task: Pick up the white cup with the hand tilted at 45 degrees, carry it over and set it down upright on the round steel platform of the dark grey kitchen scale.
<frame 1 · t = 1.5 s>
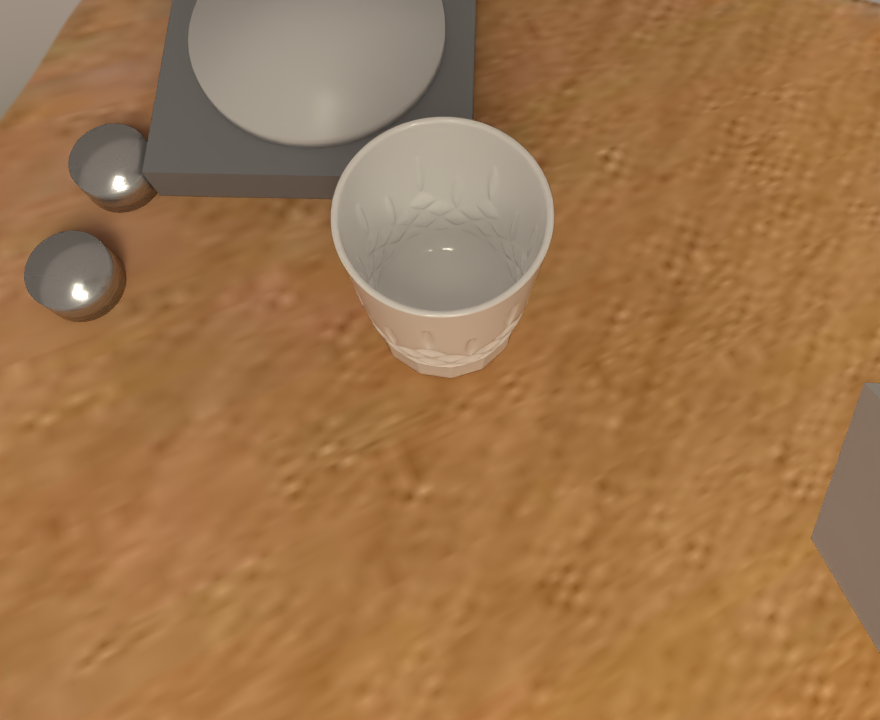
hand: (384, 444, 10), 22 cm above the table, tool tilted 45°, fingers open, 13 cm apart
spacer a: (126, 179, 38), on the table
white cup: (446, 313, 35), on the table
spacer b: (87, 285, 36), on the table
scale: (326, 67, 39), on the table
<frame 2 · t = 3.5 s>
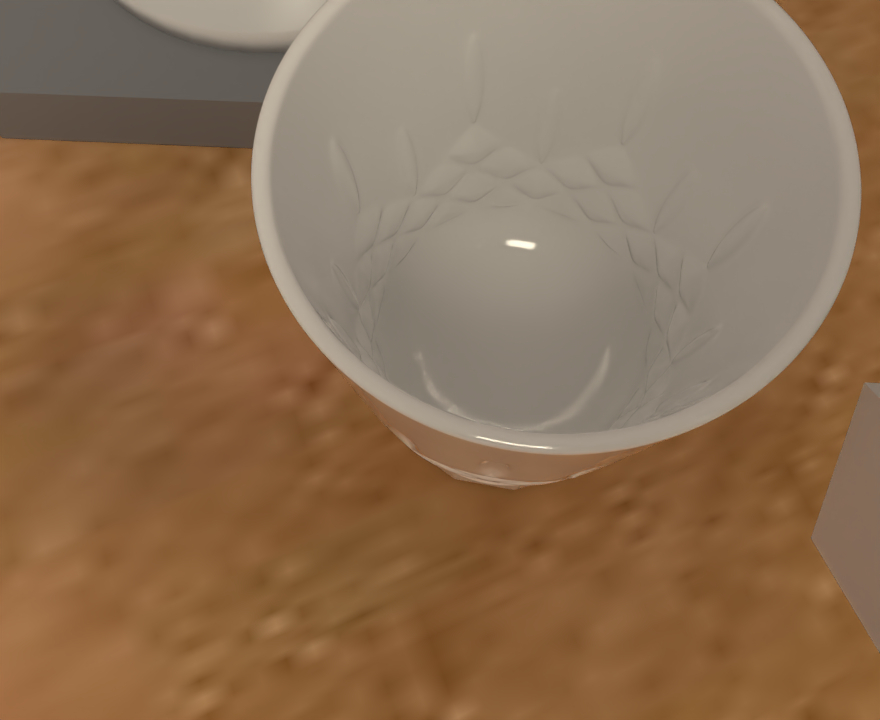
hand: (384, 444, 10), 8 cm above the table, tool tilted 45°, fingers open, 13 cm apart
white cup: (504, 363, 19), on the table
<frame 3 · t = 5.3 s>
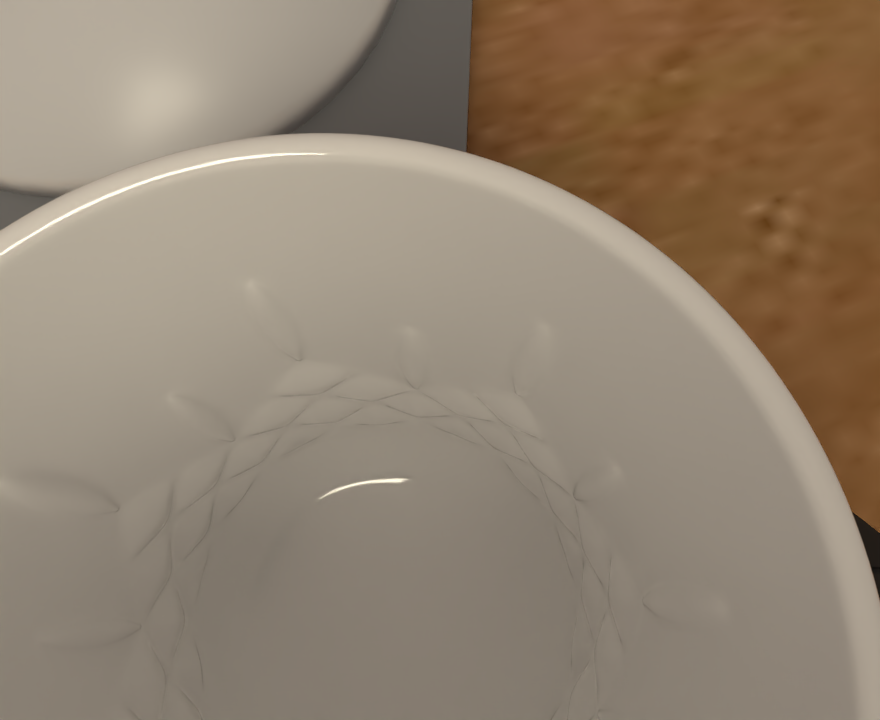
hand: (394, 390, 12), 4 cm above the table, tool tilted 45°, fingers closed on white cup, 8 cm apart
white cup: (398, 603, 14), on the table, touching gripper
scale: (161, 18, 19), on the table
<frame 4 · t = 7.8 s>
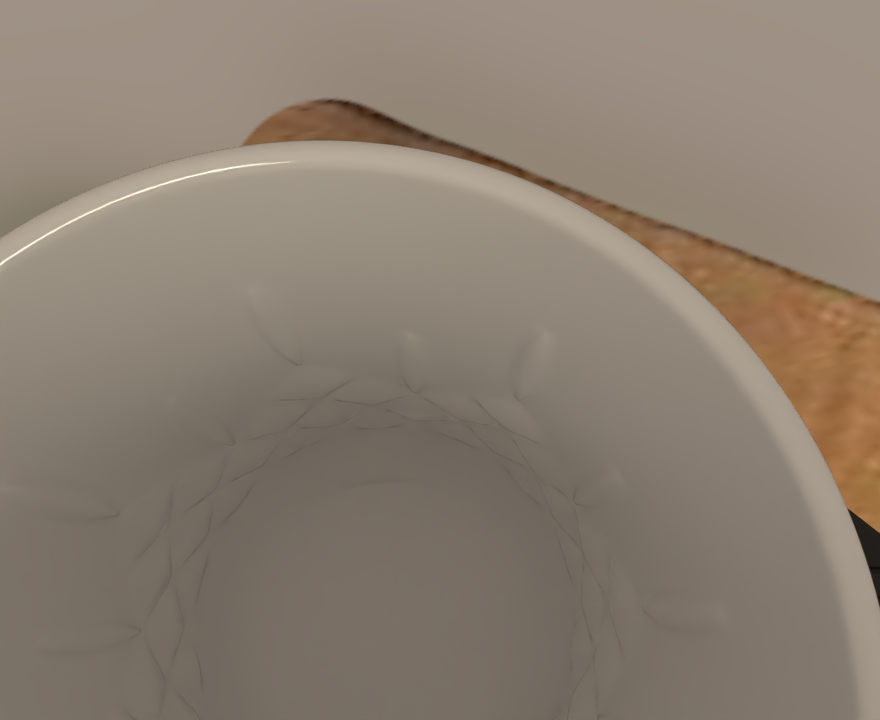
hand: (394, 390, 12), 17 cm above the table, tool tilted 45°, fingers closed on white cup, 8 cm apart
white cup: (398, 606, 14), point 13 cm above the table, touching gripper
when the fingers open (7 cm above the table, at t = 10.6 s): white cup stays where it is, resting on scale.
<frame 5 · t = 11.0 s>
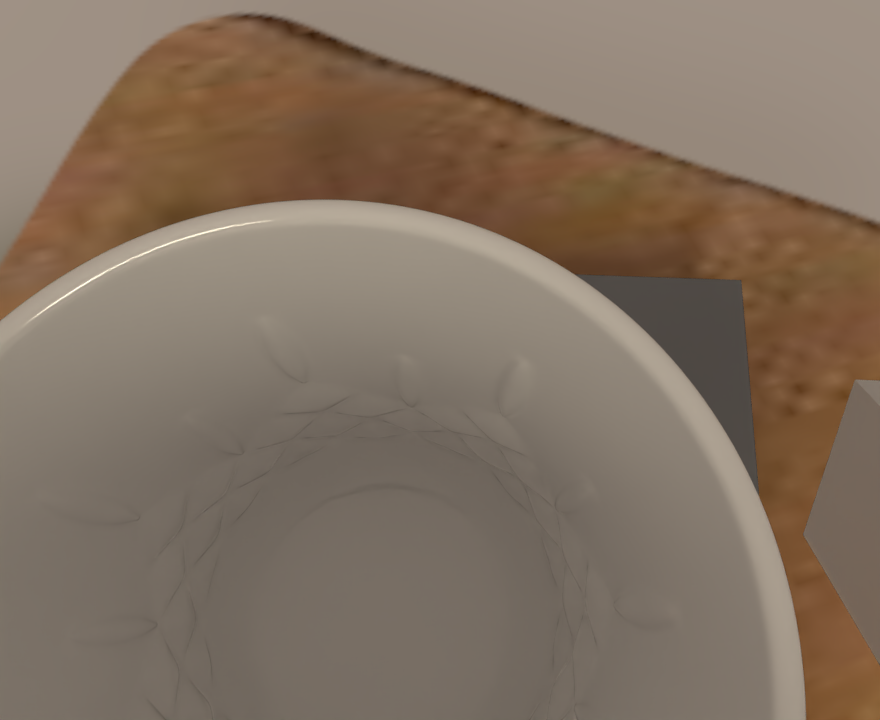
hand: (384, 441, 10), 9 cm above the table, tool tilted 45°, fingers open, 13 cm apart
white cup: (394, 604, 15), point 3 cm above the table, touching scale
scale: (409, 598, 18), on the table
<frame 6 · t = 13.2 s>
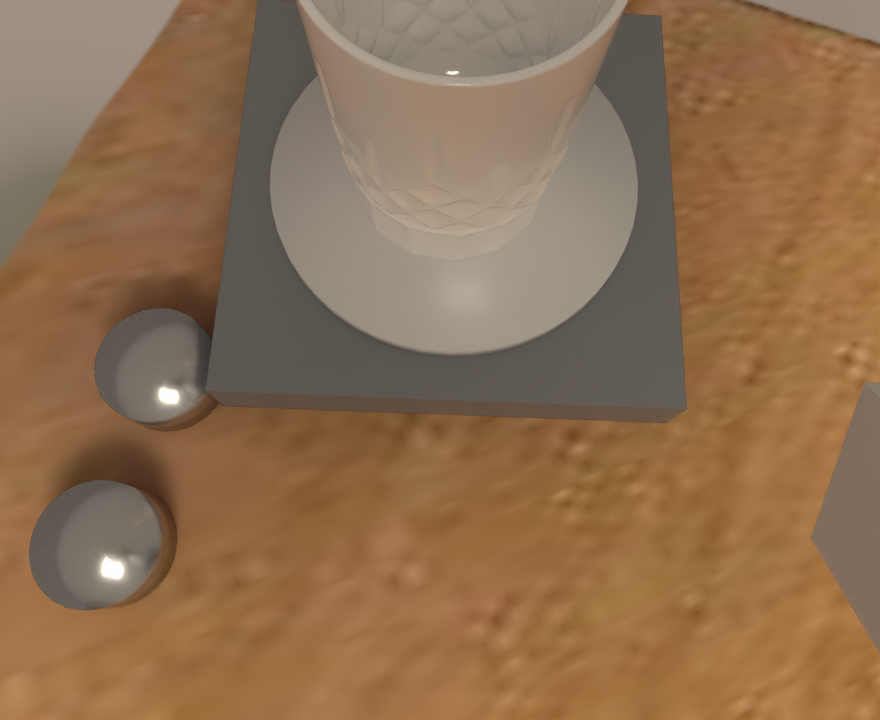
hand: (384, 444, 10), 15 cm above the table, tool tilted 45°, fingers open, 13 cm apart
spacer a: (173, 378, 26), on the table
white cup: (449, 178, 26), point 3 cm above the table, touching scale
spacer b: (119, 545, 25), on the table
scale: (451, 215, 28), on the table
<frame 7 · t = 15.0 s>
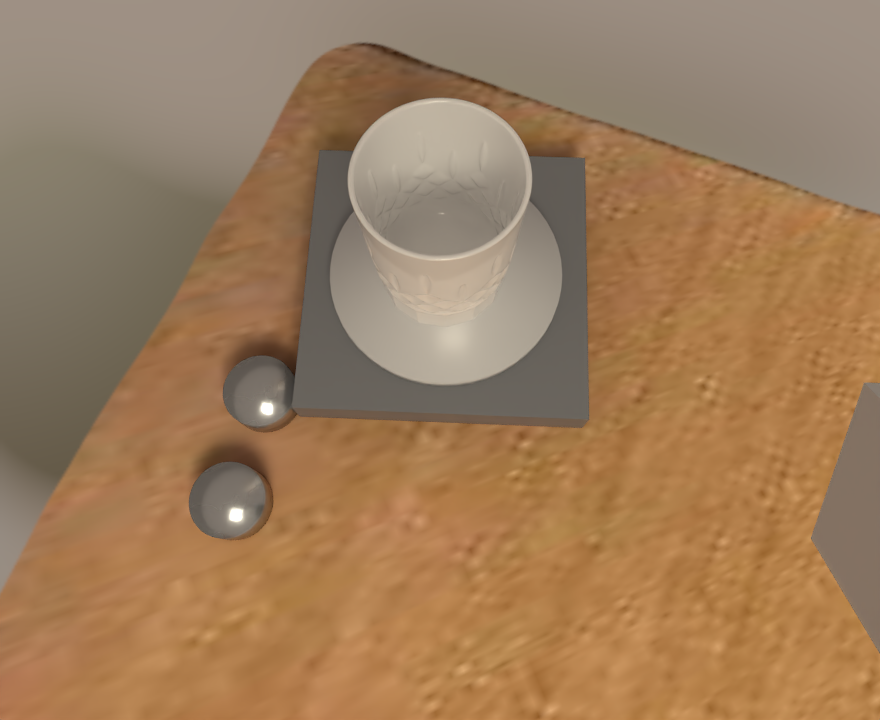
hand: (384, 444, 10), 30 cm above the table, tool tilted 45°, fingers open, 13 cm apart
spacer a: (268, 398, 42), on the table
white cup: (442, 272, 40), point 3 cm above the table, touching scale
spacer b: (237, 503, 40), on the table
scale: (446, 291, 43), on the table
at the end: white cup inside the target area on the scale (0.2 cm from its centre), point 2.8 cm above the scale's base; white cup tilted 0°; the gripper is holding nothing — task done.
